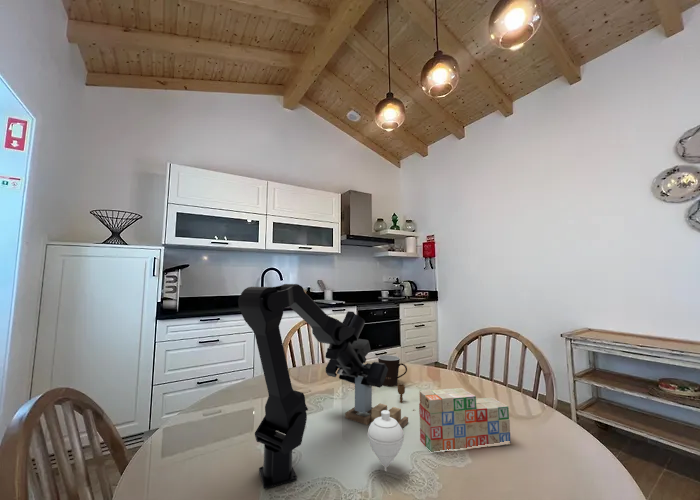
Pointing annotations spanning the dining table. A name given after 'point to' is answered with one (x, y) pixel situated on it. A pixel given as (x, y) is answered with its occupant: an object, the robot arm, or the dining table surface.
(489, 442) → the stack of blocks
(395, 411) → the oak offcut
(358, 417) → the rack
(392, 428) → the spinning top
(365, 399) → the batten
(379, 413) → the oak offcut
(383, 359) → the coffee mug
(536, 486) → the dining table surface
